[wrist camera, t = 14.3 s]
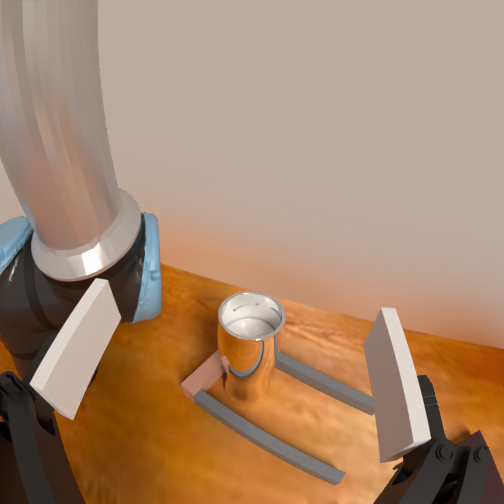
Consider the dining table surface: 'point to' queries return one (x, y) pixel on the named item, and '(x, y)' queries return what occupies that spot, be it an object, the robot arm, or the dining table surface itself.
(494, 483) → the book
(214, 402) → the guide channel
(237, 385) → the shiny metal tumbler
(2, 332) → the robot arm
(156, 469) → the dining table surface
